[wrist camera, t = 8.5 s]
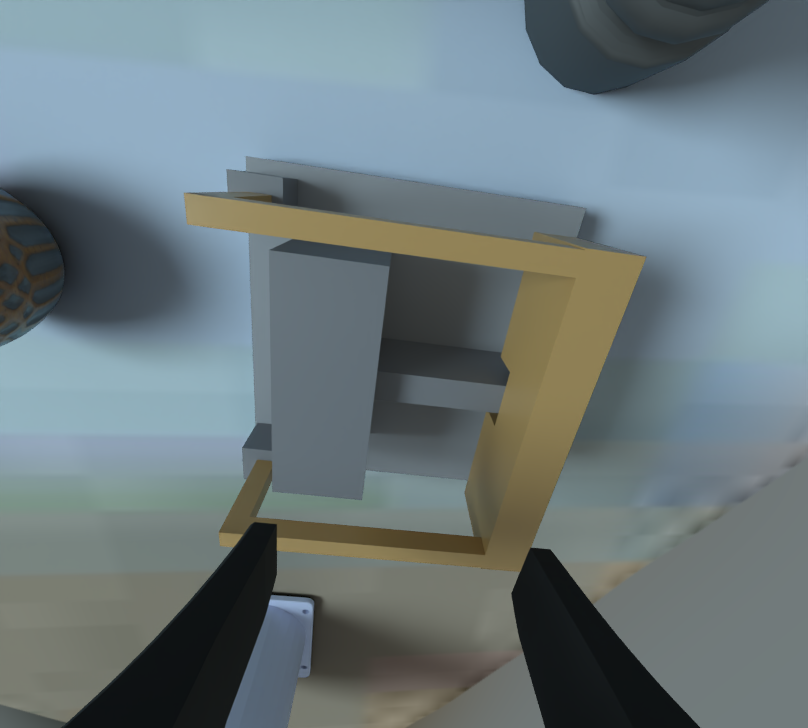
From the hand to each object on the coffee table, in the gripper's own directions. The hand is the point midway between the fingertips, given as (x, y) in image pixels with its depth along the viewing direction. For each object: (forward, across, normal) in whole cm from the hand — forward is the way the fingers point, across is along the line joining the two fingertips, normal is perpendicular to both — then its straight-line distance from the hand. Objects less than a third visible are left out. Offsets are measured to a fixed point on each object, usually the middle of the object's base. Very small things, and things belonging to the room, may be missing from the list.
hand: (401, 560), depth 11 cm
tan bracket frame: (+6, +1, -3) cm, 7 cm away
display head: (+10, 0, -3) cm, 10 cm away
